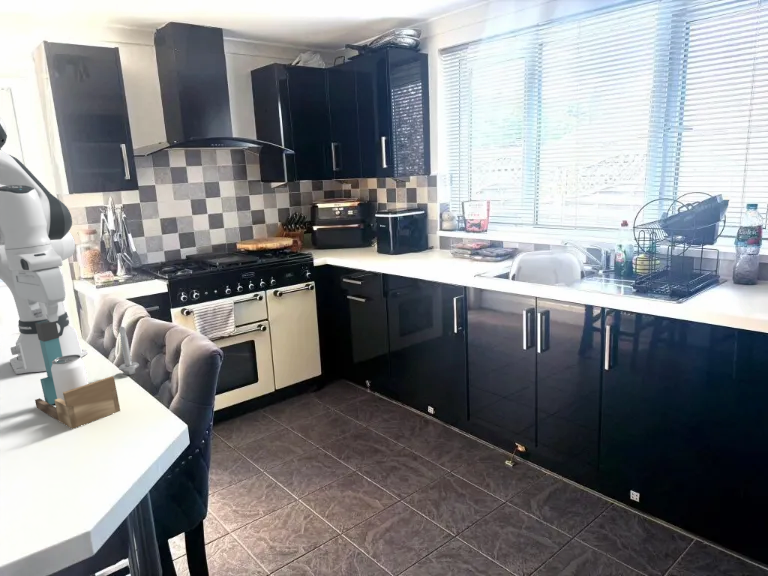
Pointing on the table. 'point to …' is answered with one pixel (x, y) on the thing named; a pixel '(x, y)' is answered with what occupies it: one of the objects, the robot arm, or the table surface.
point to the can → (68, 374)
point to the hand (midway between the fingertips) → (45, 319)
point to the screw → (126, 354)
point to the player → (49, 355)
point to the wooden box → (84, 403)
